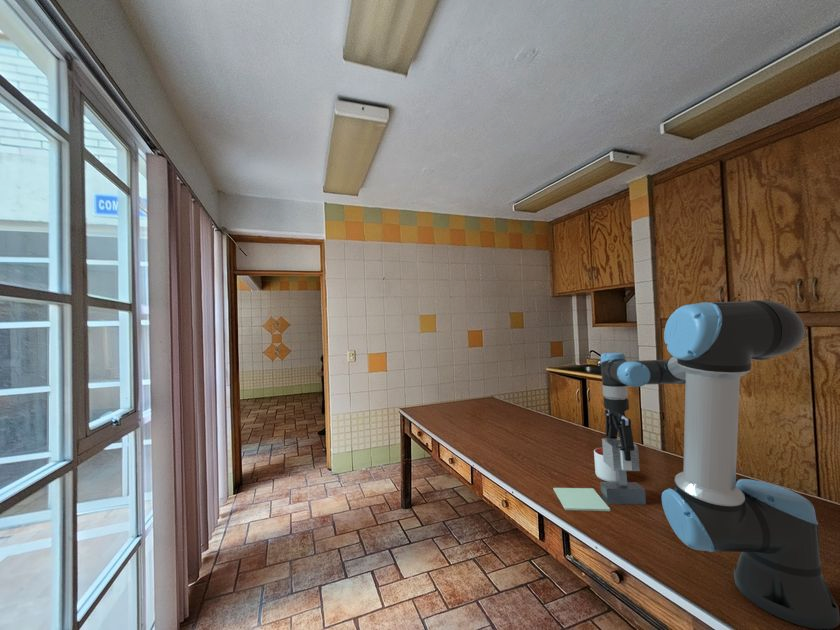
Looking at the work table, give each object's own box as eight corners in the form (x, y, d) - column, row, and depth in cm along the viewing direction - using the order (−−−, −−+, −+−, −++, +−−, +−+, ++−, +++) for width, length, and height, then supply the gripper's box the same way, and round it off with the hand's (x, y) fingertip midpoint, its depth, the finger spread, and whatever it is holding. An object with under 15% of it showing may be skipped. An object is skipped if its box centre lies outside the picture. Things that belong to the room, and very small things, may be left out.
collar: (639, 470, 108) (637, 446, 108) (613, 470, 109) (612, 446, 109) (627, 461, 116) (625, 438, 116) (603, 461, 117) (601, 438, 117)
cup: (629, 484, 122) (627, 457, 123) (600, 483, 124) (598, 456, 125) (618, 473, 132) (617, 448, 133) (592, 472, 134) (590, 447, 135)
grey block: (645, 504, 109) (642, 458, 109) (607, 503, 110) (604, 458, 111) (637, 496, 114) (634, 453, 114) (601, 496, 115) (598, 453, 116)
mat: (610, 511, 106) (610, 509, 106) (565, 510, 108) (565, 508, 108) (593, 490, 120) (593, 488, 120) (553, 489, 121) (553, 487, 121)
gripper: (643, 403, 103) (650, 478, 101) (613, 391, 123) (618, 453, 122) (618, 404, 104) (624, 477, 102) (592, 392, 124) (596, 453, 123)
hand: (620, 464), depth 112 cm, fingers closed on collar, 8 cm apart
